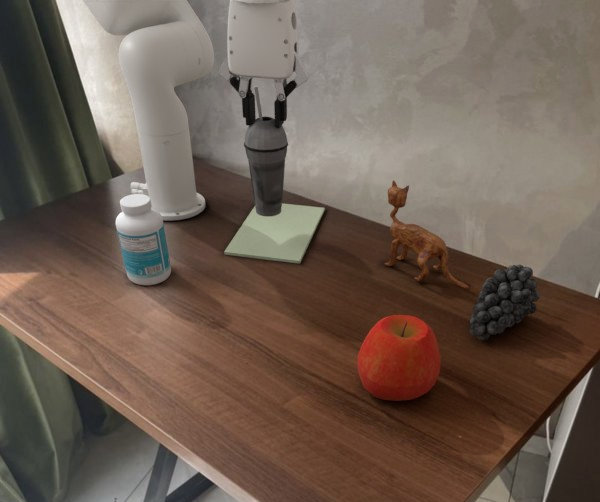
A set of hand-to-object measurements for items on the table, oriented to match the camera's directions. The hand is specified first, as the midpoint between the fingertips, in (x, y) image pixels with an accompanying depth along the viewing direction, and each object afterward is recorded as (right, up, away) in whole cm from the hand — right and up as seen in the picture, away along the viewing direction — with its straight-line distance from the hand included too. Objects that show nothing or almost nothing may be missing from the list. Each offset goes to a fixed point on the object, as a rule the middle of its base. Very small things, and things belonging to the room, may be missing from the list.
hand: (265, 122), depth 96 cm
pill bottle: (-20, -23, +7) cm, 31 cm away
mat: (+1, -12, +19) cm, 22 cm away
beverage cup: (0, -11, +10) cm, 15 cm away
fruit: (+35, -33, -3) cm, 48 cm away
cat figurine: (+27, -23, +7) cm, 36 cm away
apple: (+18, -43, -14) cm, 49 cm away
